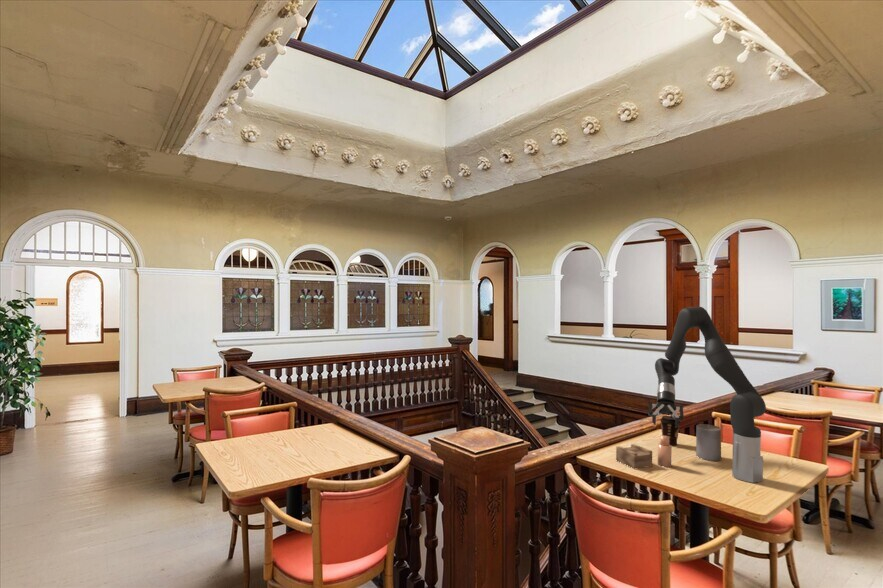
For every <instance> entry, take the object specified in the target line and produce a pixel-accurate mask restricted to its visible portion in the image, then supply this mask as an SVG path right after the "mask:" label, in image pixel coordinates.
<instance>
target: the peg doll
mask: <svg viewBox="0 0 883 588" xmlns="http://www.w3.org/2000/svg"><path fill="white" fill-rule="evenodd" d="M659 438H660V441H659V443H657V465H658V466H659V465H660V467H662V466H664V467H663V468H672V453H673V452H672V451H673V450H672V447H673V446H671V445H670V444H669V436H664V435H662V434H661V435H660V437H659Z"/></svg>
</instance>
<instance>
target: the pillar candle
mask: <svg viewBox="0 0 883 588" xmlns="http://www.w3.org/2000/svg"><path fill="white" fill-rule="evenodd" d="M695 428H696V429H695V430H696V432H695V435H696V436H695V439H696V440H695V441H696V442H695V445H696V446H695V450H696V451H695V453H696V454H695V456H696V457H697V456H698V457H699V459H700V458H702V459H701V460H704V459H706V460H705V461H709V460H711V462H718V460H719V461H722V427H720V426H717V425H713V424H705V423H699V424H696V427H695ZM698 457H697V458H698Z"/></svg>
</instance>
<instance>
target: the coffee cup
mask: <svg viewBox="0 0 883 588" xmlns="http://www.w3.org/2000/svg"><path fill="white" fill-rule="evenodd" d="M659 421H660V426H661V436H662V435H664V436H669V444H670V445H671V446H672V447H675V446H678V439H679V431H680V425H679V426H678V427H677V428H675V418H674V417H672V416H671V415H662V416H661V418H660V420H659ZM680 423H681V420H679V424H680Z"/></svg>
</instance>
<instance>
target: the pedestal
mask: <svg viewBox="0 0 883 588" xmlns="http://www.w3.org/2000/svg"><path fill="white" fill-rule="evenodd" d="M615 452H616V453H615V455H616V456H615V457H616V458H615V461H616V460H617V461H616V462H618V461H619V462H618V463H620V462H621V463H620V464H622V463H623V464H622V465H624V464H626V465H625V466H627V465H628V466H627V467H629V466H630V468H631V467H632V468H631V469H633V468H637V469H641V467H643V468H647V467H646V466H649V467H652V466H653V450H650V449H648V448H646V447H642V446H640V445H638V444H635V443H631V444H630V447H629V446H628V447H622V446H620V445H617V446H616V449H615Z"/></svg>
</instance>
